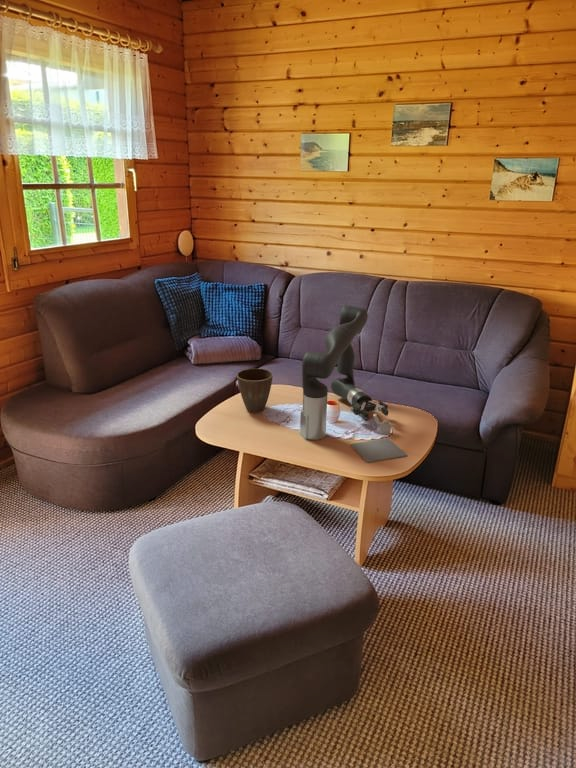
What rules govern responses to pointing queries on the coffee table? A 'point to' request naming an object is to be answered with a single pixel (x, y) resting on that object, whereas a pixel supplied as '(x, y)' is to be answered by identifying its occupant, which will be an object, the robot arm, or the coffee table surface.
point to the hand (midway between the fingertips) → (377, 414)
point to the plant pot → (255, 388)
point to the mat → (378, 450)
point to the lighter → (383, 425)
